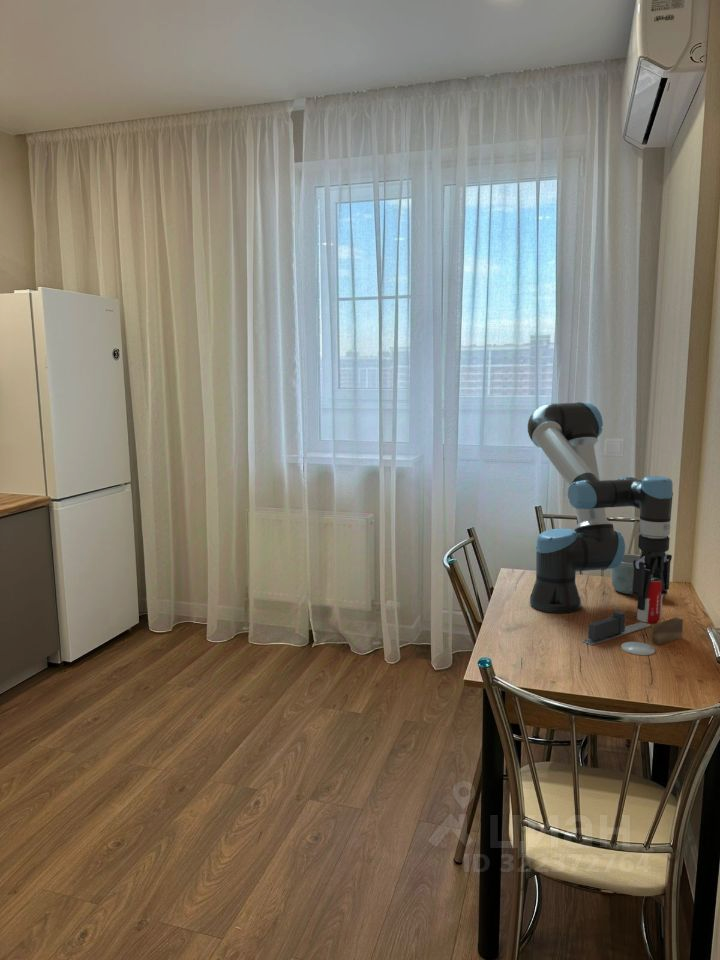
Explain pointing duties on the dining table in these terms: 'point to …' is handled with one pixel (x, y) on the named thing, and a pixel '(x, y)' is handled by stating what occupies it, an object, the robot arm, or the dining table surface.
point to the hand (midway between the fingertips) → (649, 618)
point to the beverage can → (654, 600)
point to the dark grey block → (607, 626)
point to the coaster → (638, 648)
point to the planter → (624, 574)
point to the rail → (627, 630)
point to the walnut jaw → (667, 631)
